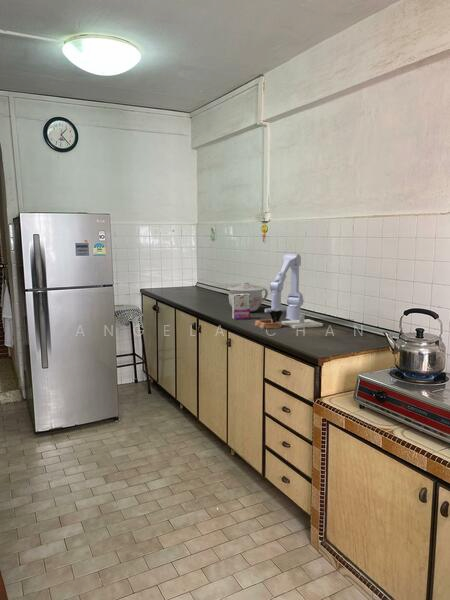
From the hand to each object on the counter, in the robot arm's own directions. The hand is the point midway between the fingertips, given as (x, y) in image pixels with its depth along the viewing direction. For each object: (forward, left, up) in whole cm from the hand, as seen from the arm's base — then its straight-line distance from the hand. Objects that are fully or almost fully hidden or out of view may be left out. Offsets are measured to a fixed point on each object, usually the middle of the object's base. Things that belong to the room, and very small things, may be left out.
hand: (275, 323), depth 280 cm
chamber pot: (-56, +6, -2) cm, 56 cm away
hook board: (+3, +17, -2) cm, 17 cm away
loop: (0, -5, -2) cm, 5 cm away
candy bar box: (-29, -10, -2) cm, 31 cm away
